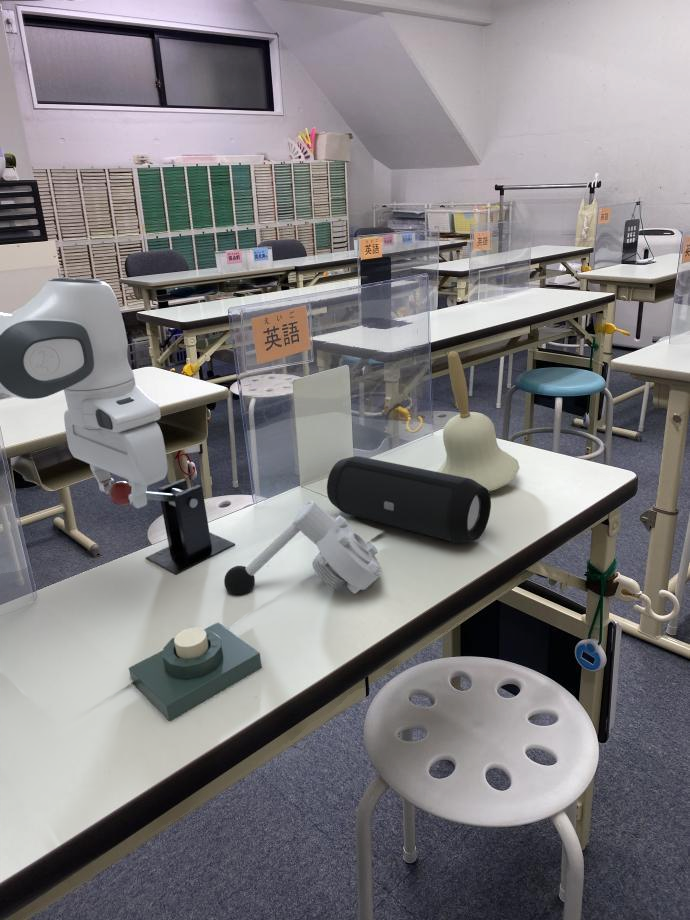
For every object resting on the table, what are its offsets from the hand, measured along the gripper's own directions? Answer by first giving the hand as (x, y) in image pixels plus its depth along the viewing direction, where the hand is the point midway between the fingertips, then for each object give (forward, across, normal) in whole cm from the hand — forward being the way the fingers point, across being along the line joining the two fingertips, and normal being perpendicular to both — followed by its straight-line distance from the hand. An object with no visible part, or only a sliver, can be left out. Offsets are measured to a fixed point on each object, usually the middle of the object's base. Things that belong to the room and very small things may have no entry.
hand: (123, 498), depth 95 cm
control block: (+13, +24, -7) cm, 28 cm away
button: (+10, +24, -7) cm, 27 cm away
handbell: (+14, +20, +58) cm, 62 cm away
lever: (+3, 0, +4) cm, 5 cm away
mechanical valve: (+14, +21, +13) cm, 28 cm away
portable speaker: (+14, +21, +36) cm, 44 cm away
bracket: (+13, 0, +9) cm, 16 cm away
